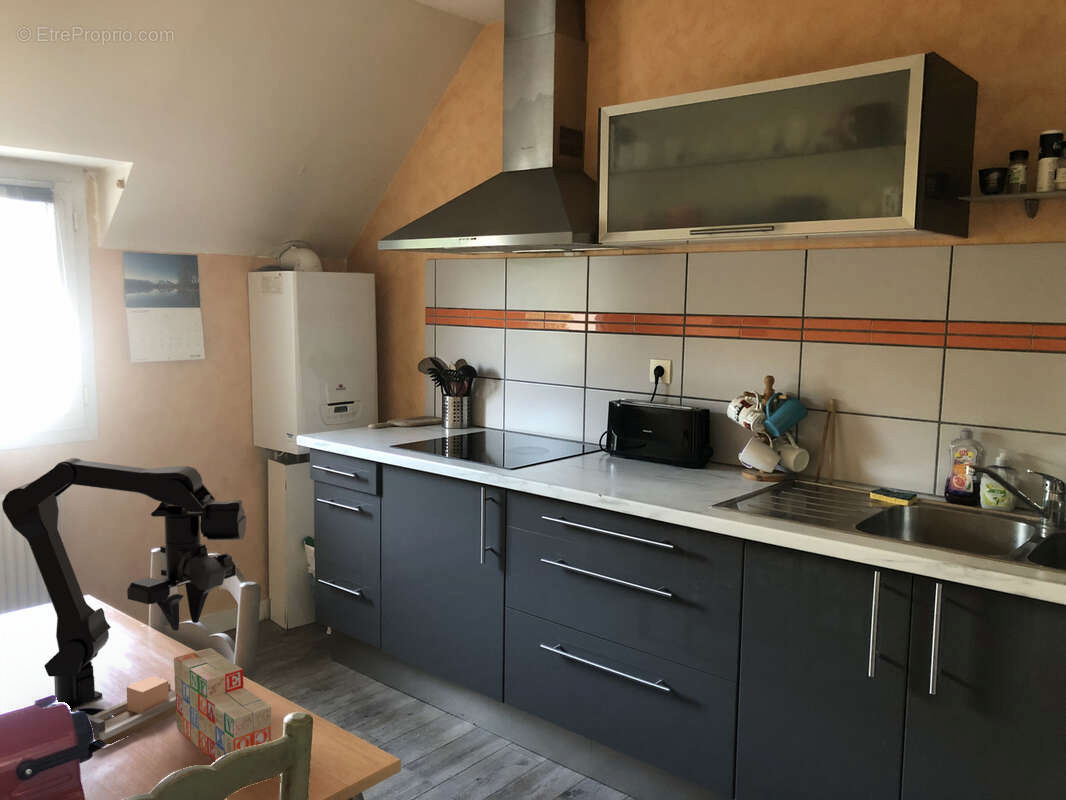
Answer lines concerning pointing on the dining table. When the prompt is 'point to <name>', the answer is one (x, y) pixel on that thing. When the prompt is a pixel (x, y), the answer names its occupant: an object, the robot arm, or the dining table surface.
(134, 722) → the track
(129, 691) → the block
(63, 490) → the robot arm
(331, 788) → the dining table surface
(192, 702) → the stack of blocks
